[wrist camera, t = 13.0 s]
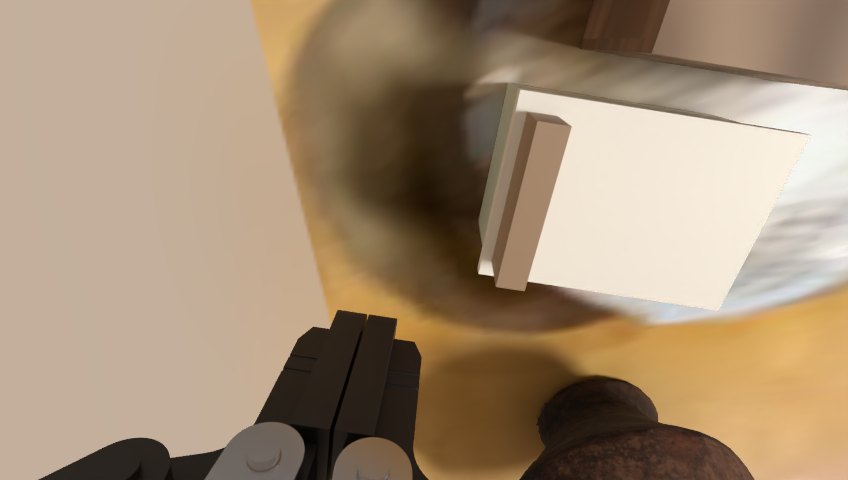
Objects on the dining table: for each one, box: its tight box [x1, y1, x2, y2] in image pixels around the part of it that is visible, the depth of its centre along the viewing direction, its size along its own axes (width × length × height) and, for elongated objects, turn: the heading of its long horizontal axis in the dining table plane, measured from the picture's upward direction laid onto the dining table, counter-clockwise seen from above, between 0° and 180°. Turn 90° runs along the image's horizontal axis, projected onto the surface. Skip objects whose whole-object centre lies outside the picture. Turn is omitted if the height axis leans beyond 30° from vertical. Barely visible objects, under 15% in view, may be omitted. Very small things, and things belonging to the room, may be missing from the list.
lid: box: [478, 88, 811, 311], centre depth 23 cm, size 15×11×4 cm
